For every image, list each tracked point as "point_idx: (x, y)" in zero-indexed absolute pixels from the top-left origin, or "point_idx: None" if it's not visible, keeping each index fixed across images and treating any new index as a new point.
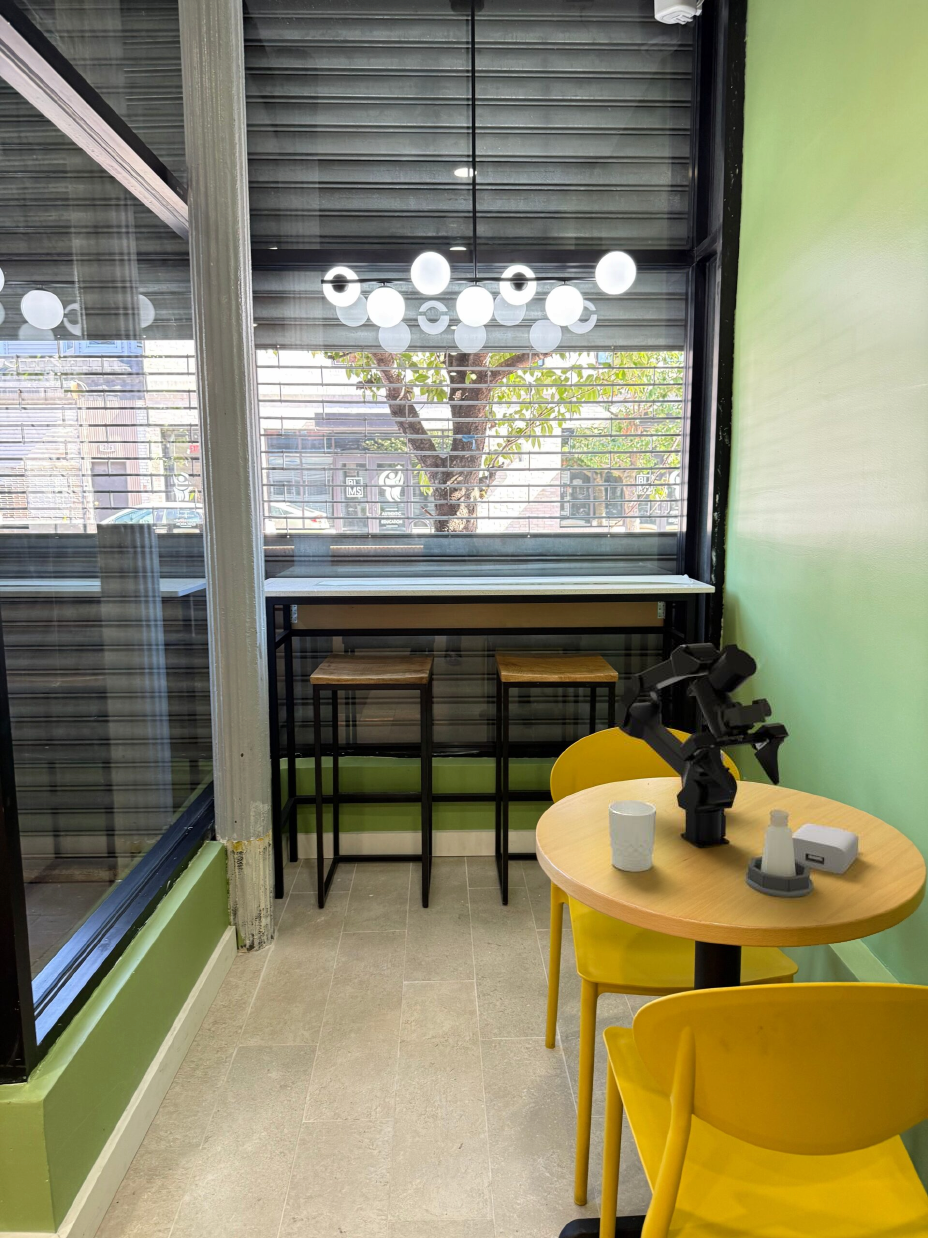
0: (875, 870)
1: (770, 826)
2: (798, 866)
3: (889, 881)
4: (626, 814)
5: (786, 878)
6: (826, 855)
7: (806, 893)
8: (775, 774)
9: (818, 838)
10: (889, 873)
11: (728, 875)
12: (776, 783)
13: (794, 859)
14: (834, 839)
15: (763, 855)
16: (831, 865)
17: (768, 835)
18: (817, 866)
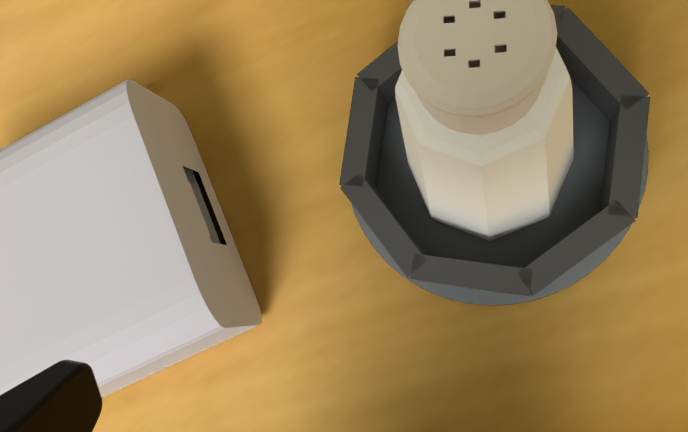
0: (48, 94)
1: (539, 104)
2: (373, 133)
3: (92, 3)
4: None
5: (567, 21)
6: (173, 154)
7: None
8: (14, 420)
9: (108, 224)
10: (32, 54)
11: (638, 346)
12: (90, 381)
13: (345, 177)
14: (58, 179)
15: (552, 182)
16: (184, 145)
17: (563, 112)
18: (213, 199)
